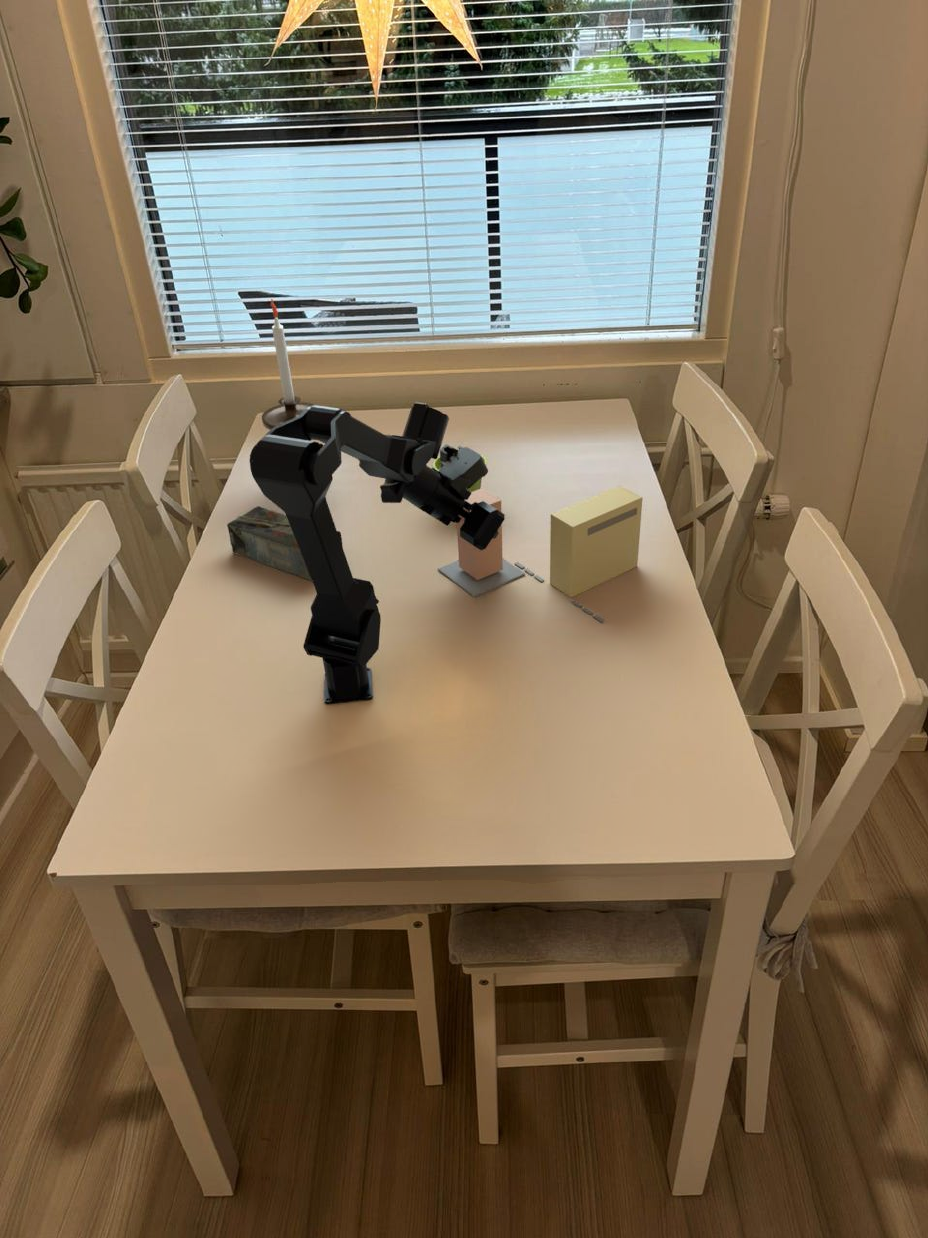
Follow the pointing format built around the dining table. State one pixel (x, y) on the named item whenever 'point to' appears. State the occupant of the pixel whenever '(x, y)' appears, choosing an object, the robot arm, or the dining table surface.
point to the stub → (474, 558)
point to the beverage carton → (268, 540)
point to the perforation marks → (571, 601)
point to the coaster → (483, 584)
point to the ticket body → (594, 540)
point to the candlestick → (283, 383)
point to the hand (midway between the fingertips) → (486, 528)
